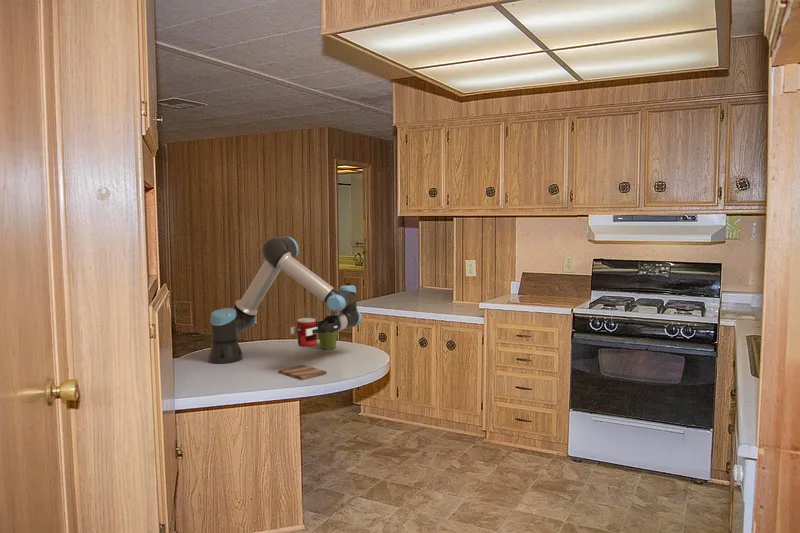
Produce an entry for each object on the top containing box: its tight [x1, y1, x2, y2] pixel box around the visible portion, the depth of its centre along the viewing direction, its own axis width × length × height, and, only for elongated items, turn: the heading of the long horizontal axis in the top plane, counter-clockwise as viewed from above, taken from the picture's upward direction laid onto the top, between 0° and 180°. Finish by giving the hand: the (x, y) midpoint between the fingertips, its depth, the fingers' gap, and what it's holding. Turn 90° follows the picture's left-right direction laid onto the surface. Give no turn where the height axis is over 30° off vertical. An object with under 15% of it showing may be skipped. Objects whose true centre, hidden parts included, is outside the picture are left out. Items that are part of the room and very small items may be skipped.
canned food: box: [296, 317, 317, 348], centre depth 259 cm, size 8×8×11 cm
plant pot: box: [317, 325, 338, 350], centre depth 302 cm, size 12×12×11 cm
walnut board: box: [278, 364, 327, 381], centre depth 256 cm, size 18×12×1 cm, turn 43°
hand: (298, 331), depth 255 cm, fingers closed on canned food, 8 cm apart
